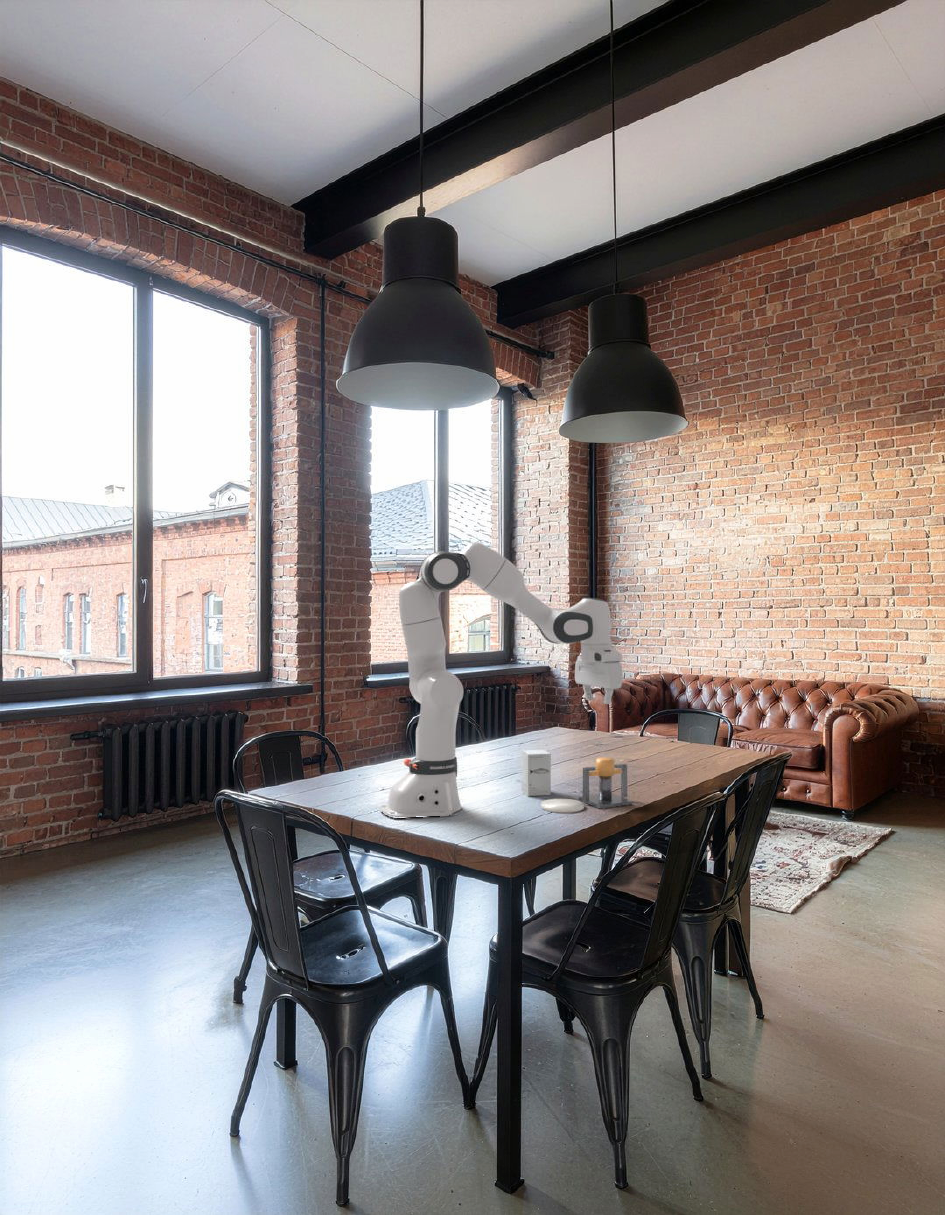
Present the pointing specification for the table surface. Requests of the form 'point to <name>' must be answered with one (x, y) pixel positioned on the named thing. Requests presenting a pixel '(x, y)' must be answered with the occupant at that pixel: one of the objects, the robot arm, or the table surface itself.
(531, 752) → the supplement box
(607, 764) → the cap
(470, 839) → the table surface
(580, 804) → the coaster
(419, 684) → the robot arm
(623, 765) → the grey display stand
